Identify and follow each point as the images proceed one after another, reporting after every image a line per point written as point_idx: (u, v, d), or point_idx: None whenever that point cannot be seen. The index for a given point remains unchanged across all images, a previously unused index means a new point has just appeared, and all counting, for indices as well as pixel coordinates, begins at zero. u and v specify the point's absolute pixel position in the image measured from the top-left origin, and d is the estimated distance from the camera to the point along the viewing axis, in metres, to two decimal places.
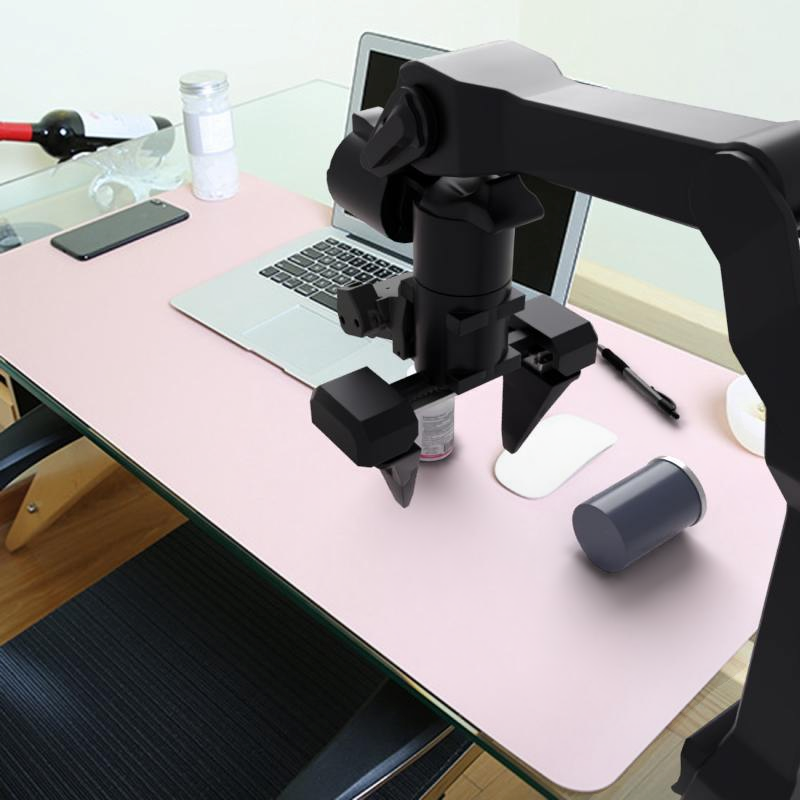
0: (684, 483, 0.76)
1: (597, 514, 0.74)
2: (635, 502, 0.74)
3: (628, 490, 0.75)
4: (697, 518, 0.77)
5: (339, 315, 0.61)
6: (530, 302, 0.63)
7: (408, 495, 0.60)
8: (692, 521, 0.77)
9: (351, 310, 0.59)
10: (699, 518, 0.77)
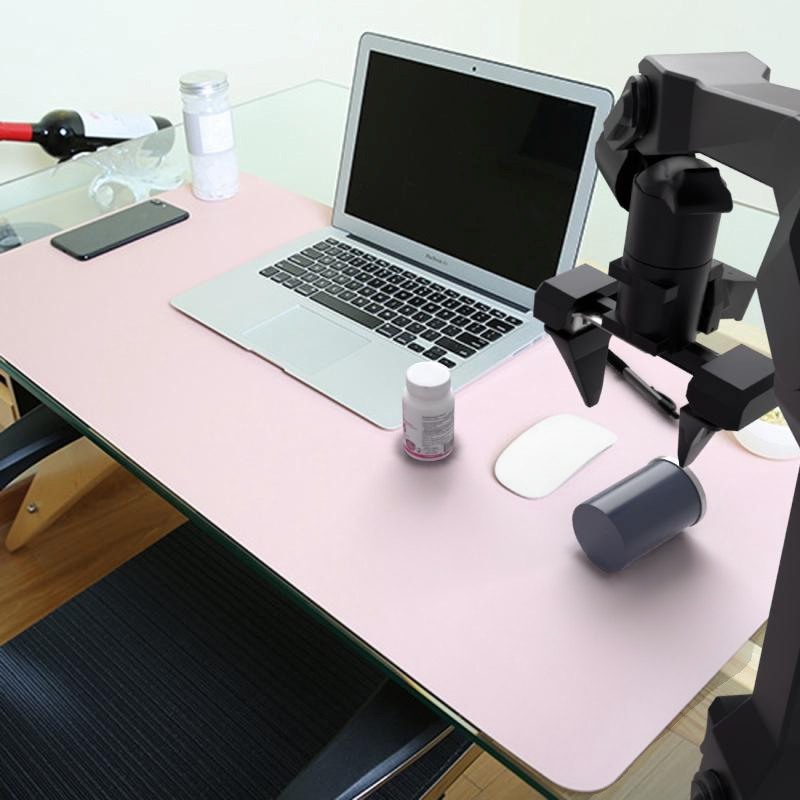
0: (684, 483, 0.76)
1: (597, 514, 0.74)
2: (635, 502, 0.74)
3: (628, 490, 0.75)
4: (697, 518, 0.77)
5: None
6: (762, 357, 0.62)
7: (581, 391, 0.74)
8: (692, 521, 0.77)
9: None
10: (699, 518, 0.77)
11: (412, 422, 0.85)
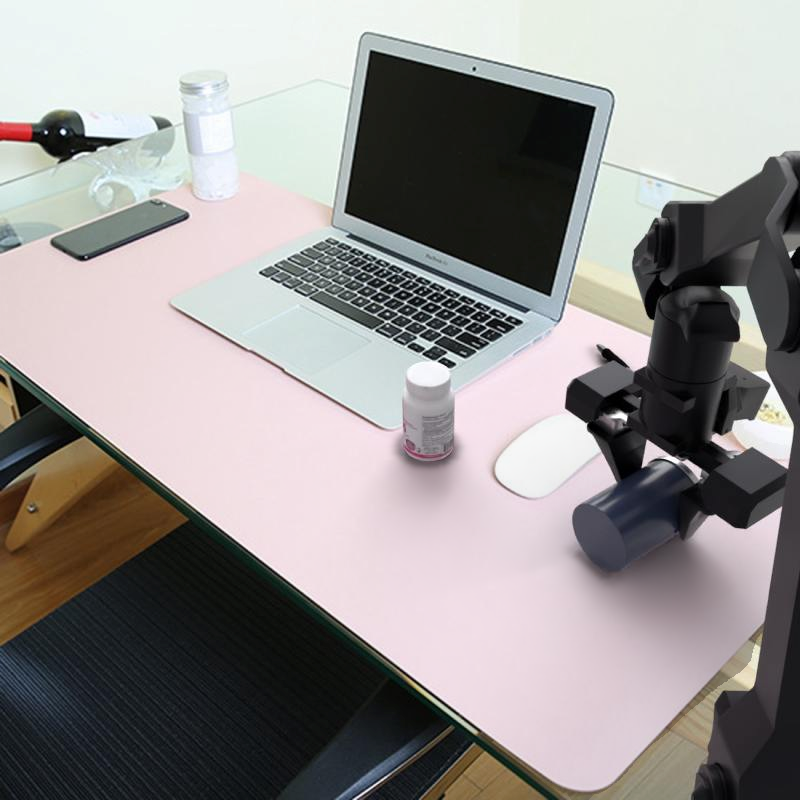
0: (684, 483, 0.76)
1: (597, 514, 0.74)
2: (635, 502, 0.74)
3: (628, 490, 0.75)
4: None
5: None
6: (770, 461, 0.69)
7: None
8: None
9: None
10: None
11: (412, 422, 0.85)
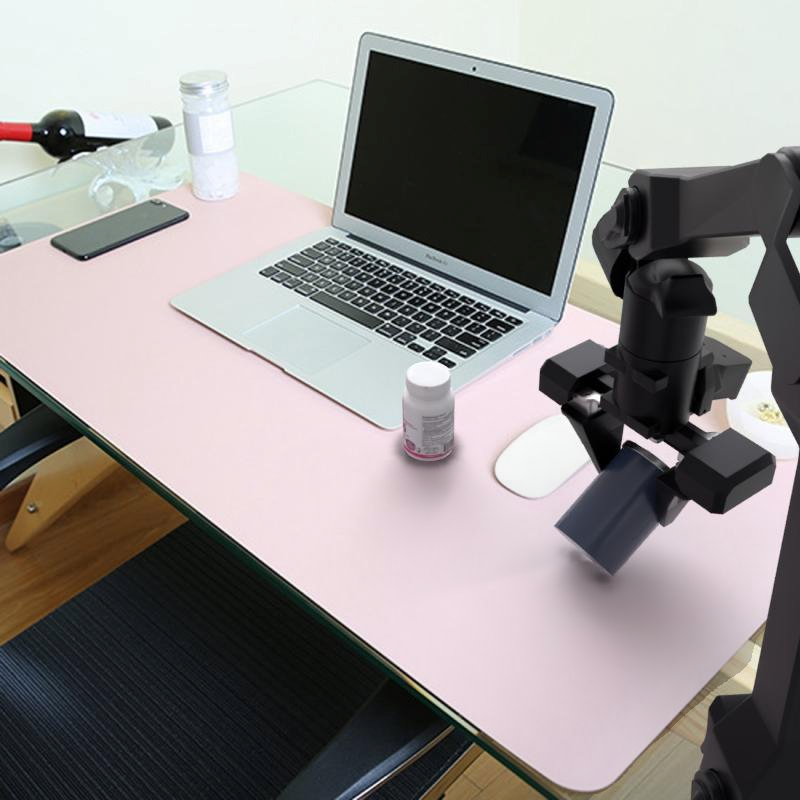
0: (652, 475, 0.72)
1: (569, 538, 0.73)
2: (602, 516, 0.72)
3: (595, 503, 0.73)
4: None
5: None
6: (749, 443, 0.66)
7: (597, 468, 0.77)
8: None
9: None
10: None
11: (412, 422, 0.85)
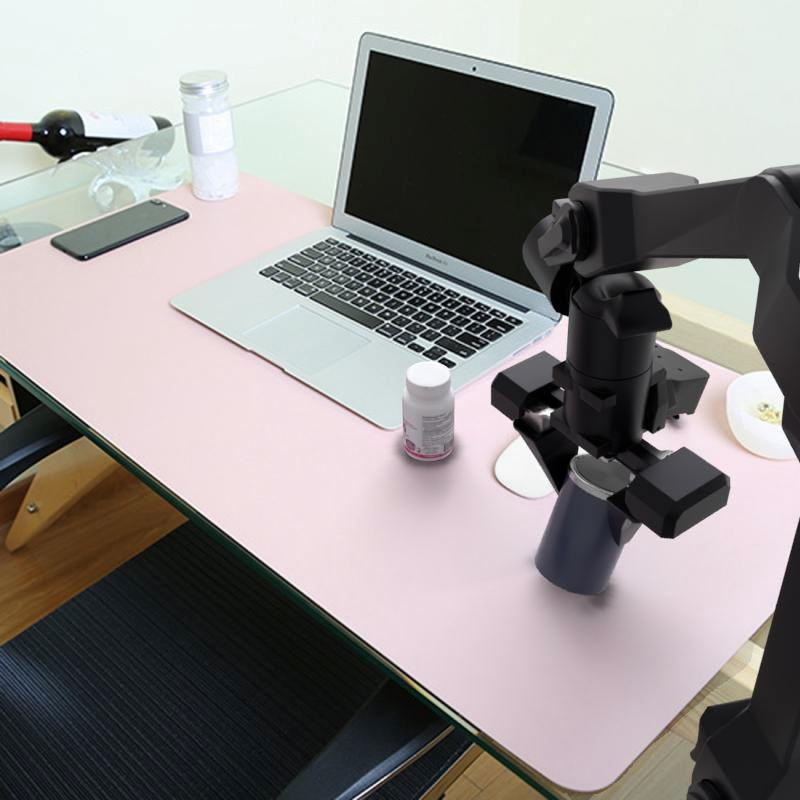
0: (595, 505, 0.70)
1: None
2: (565, 554, 0.72)
3: (555, 540, 0.72)
4: None
5: None
6: (702, 463, 0.63)
7: (553, 484, 0.74)
8: None
9: None
10: None
11: (412, 422, 0.85)
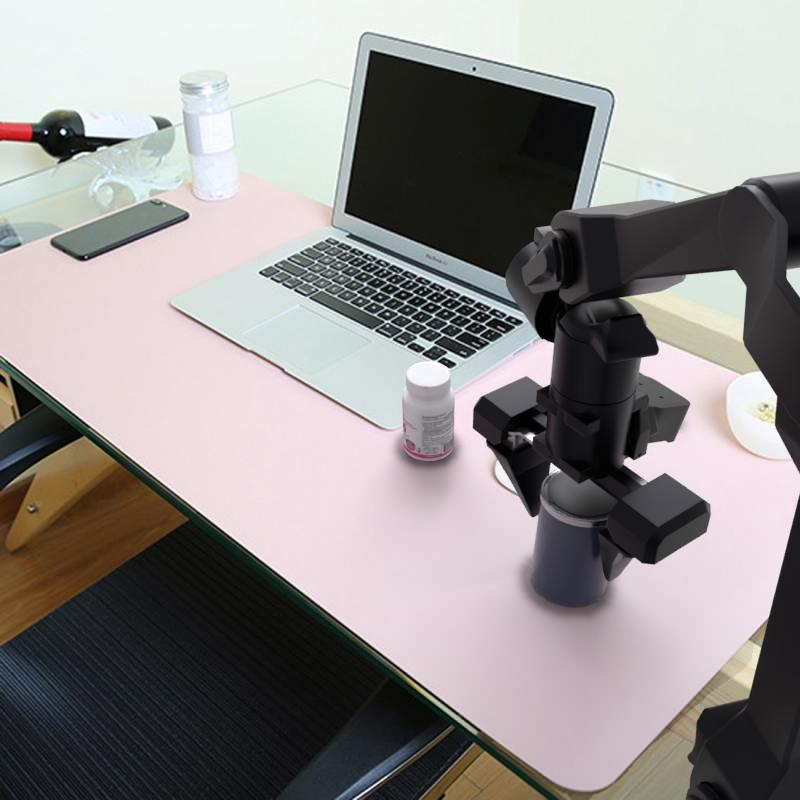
0: (569, 530, 0.69)
1: None
2: (552, 574, 0.72)
3: (542, 561, 0.73)
4: None
5: None
6: (683, 489, 0.63)
7: (524, 502, 0.75)
8: None
9: None
10: None
11: (412, 422, 0.85)
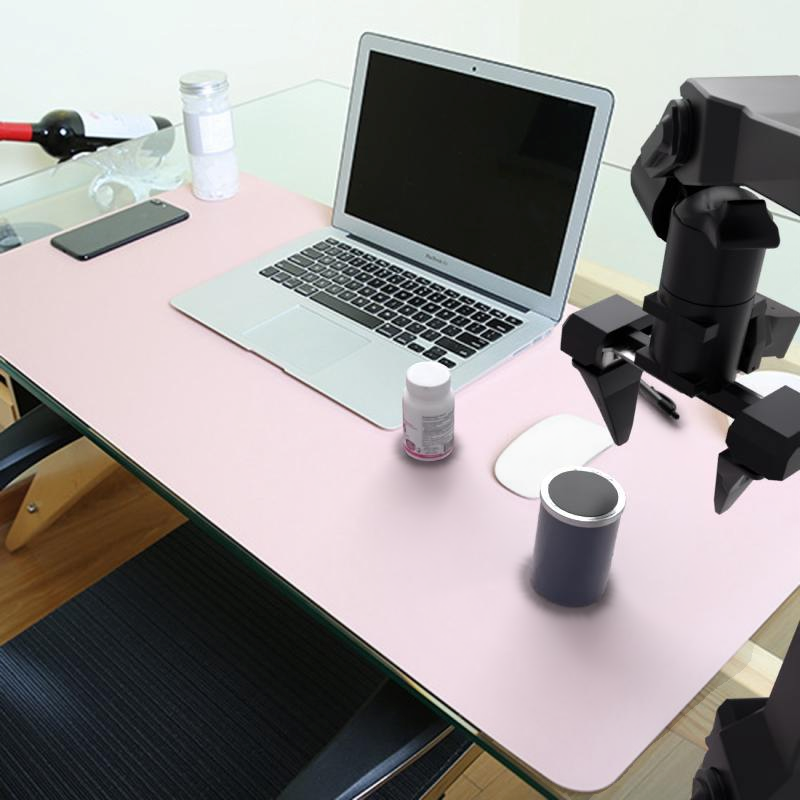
0: (569, 530, 0.69)
1: None
2: (552, 574, 0.72)
3: (542, 561, 0.73)
4: (615, 519, 0.69)
5: None
6: None
7: (610, 429, 0.69)
8: (614, 526, 0.70)
9: None
10: (617, 518, 0.69)
11: (412, 422, 0.85)
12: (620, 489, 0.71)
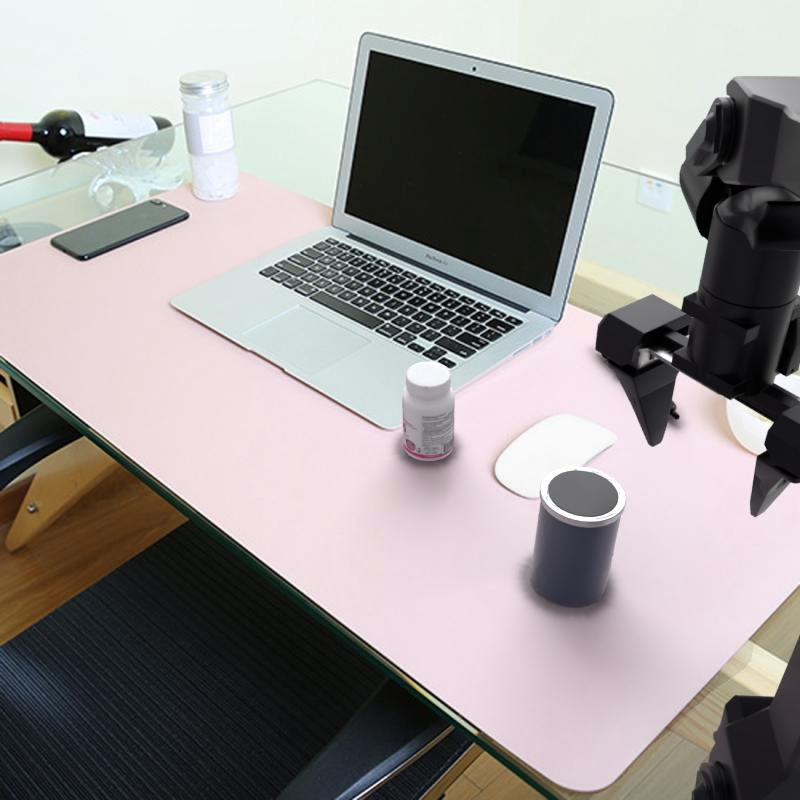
0: (569, 530, 0.69)
1: None
2: (552, 574, 0.72)
3: (542, 561, 0.73)
4: (615, 519, 0.69)
5: None
6: None
7: (644, 430, 0.69)
8: (614, 526, 0.70)
9: None
10: (617, 518, 0.69)
11: (412, 422, 0.85)
12: (620, 489, 0.71)
